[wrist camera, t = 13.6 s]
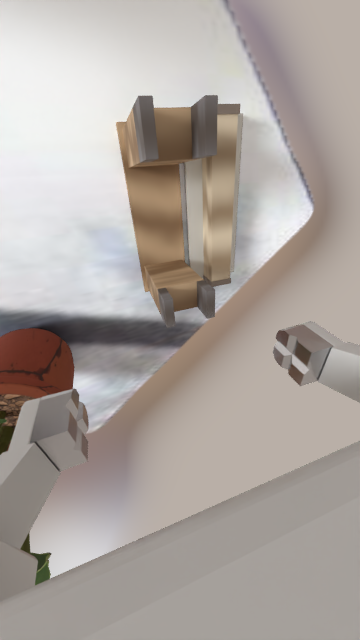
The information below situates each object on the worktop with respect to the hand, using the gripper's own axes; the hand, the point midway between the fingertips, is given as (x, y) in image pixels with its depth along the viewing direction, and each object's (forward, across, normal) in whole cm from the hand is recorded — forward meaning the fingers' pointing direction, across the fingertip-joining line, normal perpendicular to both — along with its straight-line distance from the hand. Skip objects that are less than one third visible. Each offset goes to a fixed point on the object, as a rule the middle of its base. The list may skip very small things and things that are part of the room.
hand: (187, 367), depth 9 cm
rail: (+28, -14, -1) cm, 31 cm away
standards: (+28, -5, -1) cm, 29 cm away
